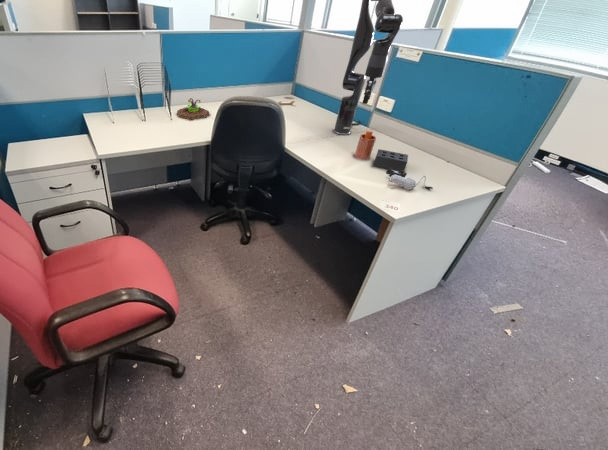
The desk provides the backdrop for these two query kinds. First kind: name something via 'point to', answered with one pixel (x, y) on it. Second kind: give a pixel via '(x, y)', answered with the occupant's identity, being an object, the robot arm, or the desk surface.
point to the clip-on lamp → (403, 179)
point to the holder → (390, 160)
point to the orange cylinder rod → (368, 135)
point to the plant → (192, 111)
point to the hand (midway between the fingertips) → (365, 101)
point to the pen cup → (364, 147)
